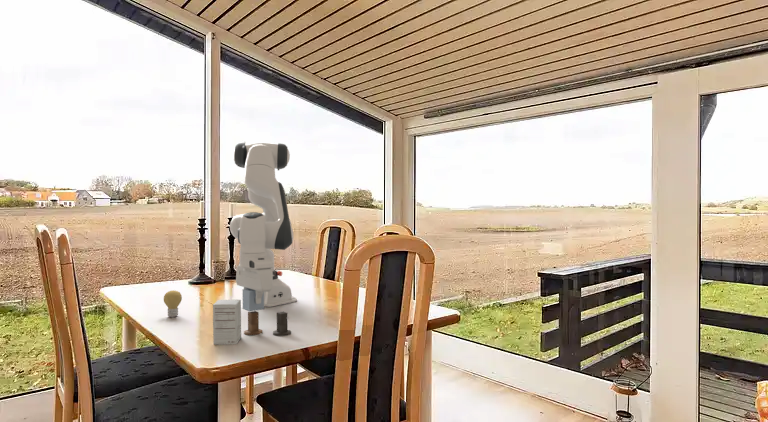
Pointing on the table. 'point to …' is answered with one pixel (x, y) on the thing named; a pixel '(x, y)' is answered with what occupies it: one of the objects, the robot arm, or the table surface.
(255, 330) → the walnut post
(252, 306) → the cap
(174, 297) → the light bulb
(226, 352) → the table surface
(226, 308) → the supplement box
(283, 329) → the black post
